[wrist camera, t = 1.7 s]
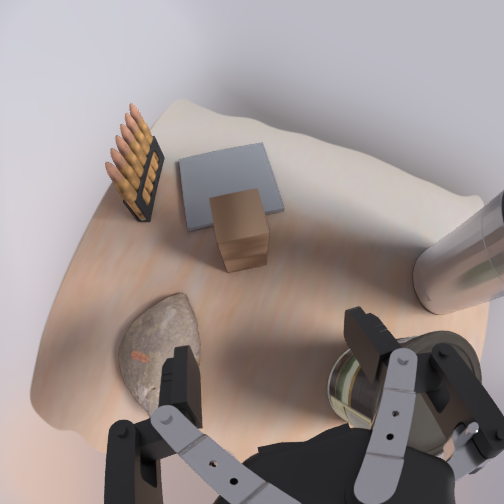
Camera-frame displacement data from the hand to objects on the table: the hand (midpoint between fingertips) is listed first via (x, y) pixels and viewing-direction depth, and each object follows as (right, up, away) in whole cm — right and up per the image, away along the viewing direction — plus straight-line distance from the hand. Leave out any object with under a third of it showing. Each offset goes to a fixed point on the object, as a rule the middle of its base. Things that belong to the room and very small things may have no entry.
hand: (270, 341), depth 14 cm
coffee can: (+12, -11, +14) cm, 22 cm away
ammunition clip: (-15, +13, +23) cm, 31 cm away
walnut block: (-2, +5, +20) cm, 20 cm away
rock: (-11, -7, +16) cm, 21 cm away
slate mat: (-4, +13, +23) cm, 27 cm away
